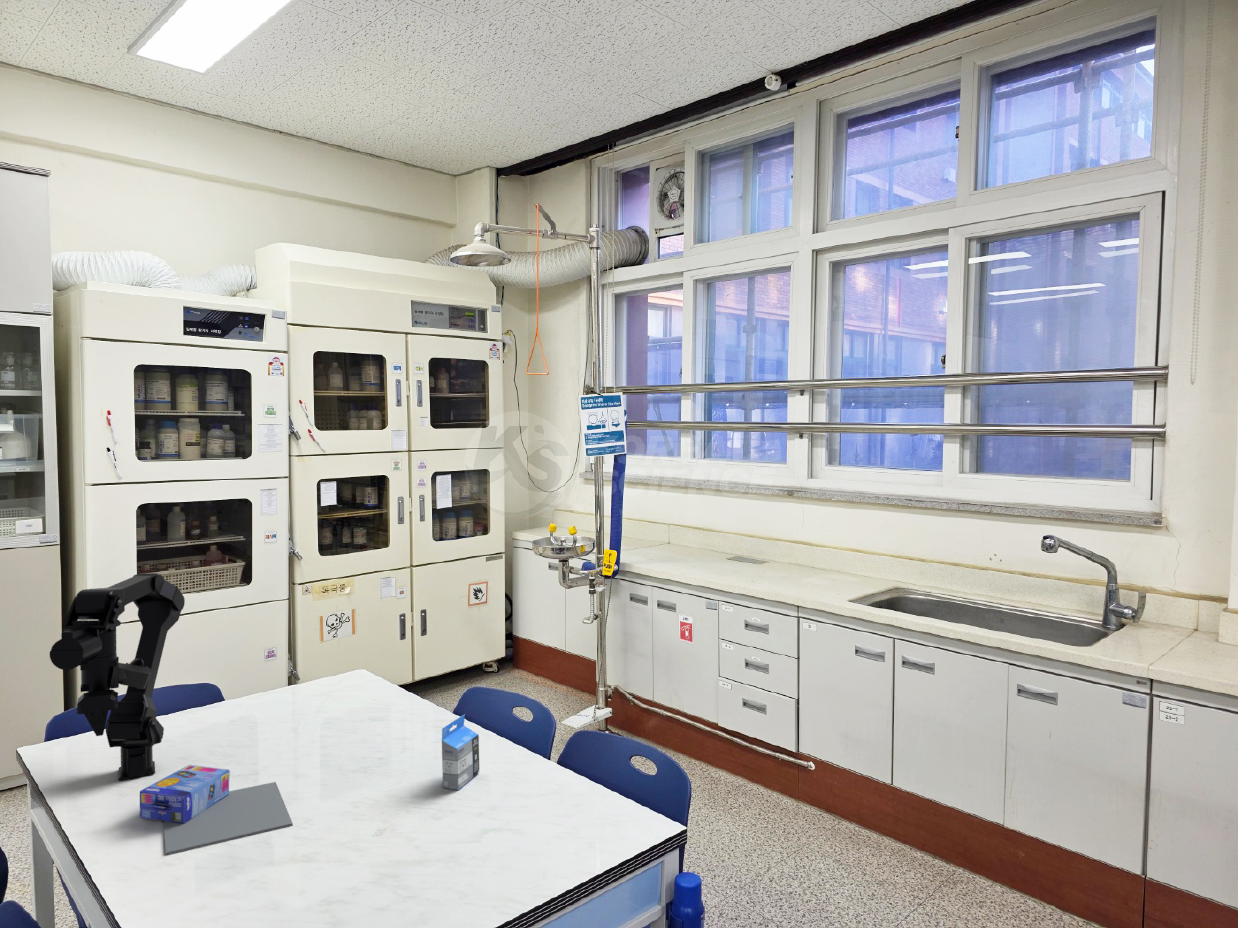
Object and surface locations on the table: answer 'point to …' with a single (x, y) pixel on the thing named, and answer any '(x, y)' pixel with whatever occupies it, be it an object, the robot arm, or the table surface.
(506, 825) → the table surface
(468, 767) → the label tape box
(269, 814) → the charcoal mat
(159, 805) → the ink cartridge box
